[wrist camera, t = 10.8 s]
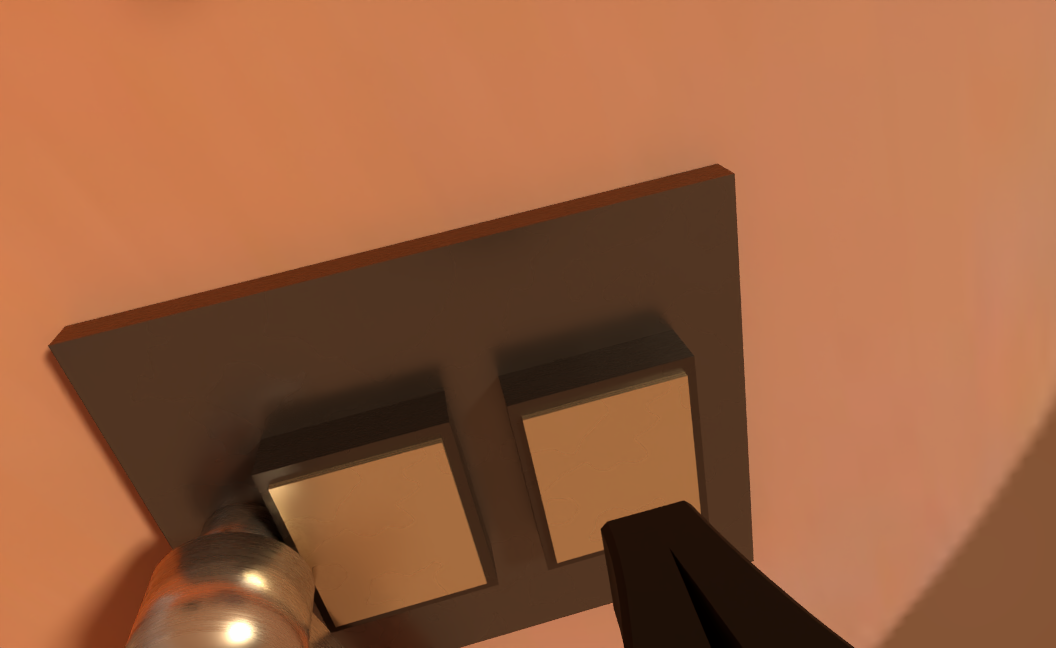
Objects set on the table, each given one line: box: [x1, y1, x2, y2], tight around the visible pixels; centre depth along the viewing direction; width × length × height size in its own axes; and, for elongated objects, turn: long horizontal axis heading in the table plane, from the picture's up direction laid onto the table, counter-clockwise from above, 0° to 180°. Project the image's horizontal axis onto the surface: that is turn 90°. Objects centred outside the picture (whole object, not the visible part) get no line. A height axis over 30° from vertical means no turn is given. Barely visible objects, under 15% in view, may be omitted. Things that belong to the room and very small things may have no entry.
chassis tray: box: [49, 164, 754, 648], centre depth 20 cm, size 17×14×3 cm
